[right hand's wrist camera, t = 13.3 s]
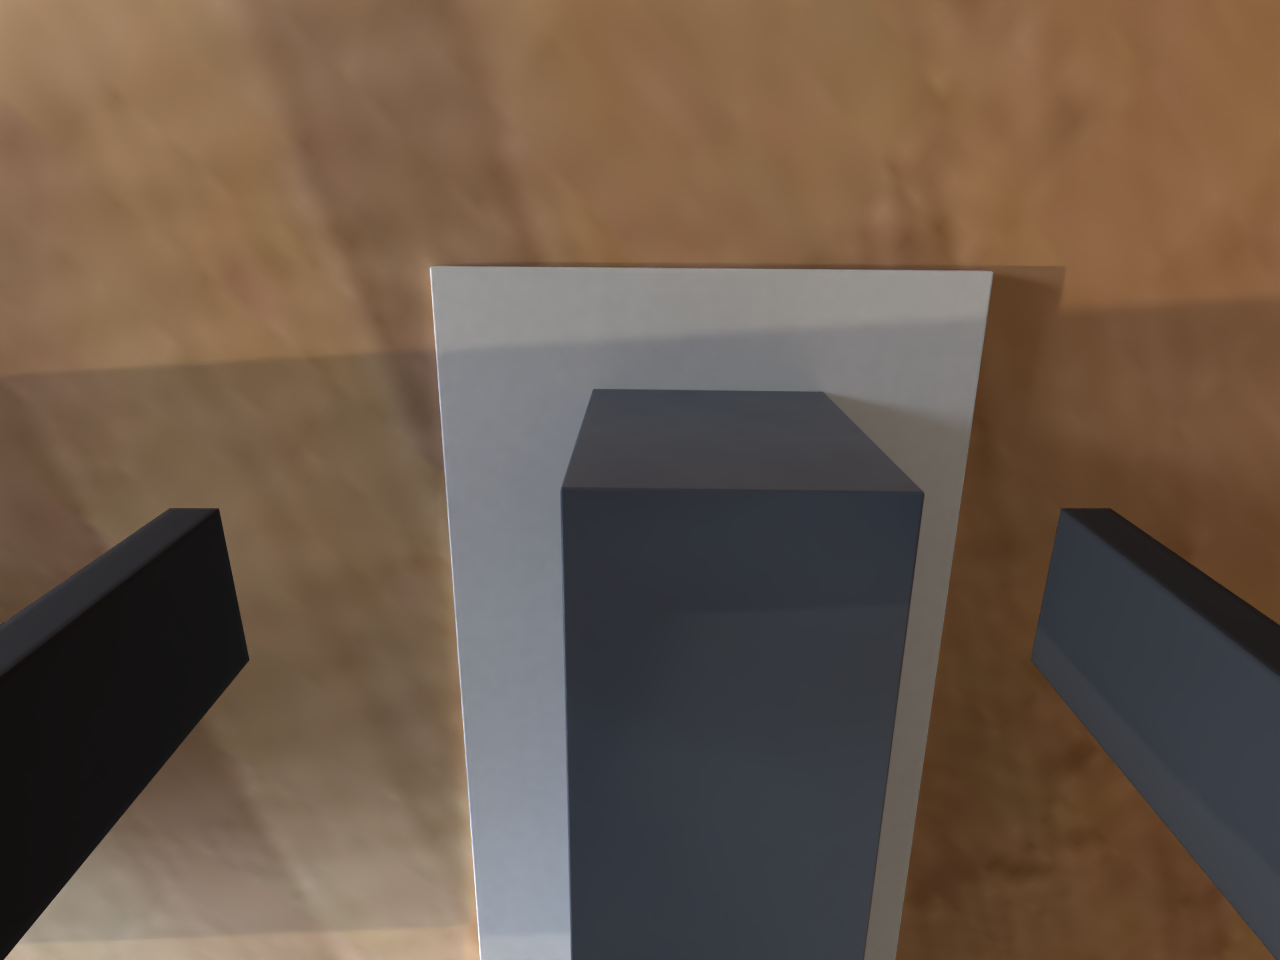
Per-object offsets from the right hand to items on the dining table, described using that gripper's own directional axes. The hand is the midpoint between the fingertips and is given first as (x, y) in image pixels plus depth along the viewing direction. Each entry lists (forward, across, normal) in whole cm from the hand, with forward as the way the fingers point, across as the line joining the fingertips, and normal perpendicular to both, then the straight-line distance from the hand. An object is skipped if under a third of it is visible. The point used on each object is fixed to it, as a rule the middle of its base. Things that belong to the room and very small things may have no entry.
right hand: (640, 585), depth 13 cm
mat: (+9, +2, -14) cm, 17 cm away
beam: (+8, +2, -14) cm, 16 cm away
